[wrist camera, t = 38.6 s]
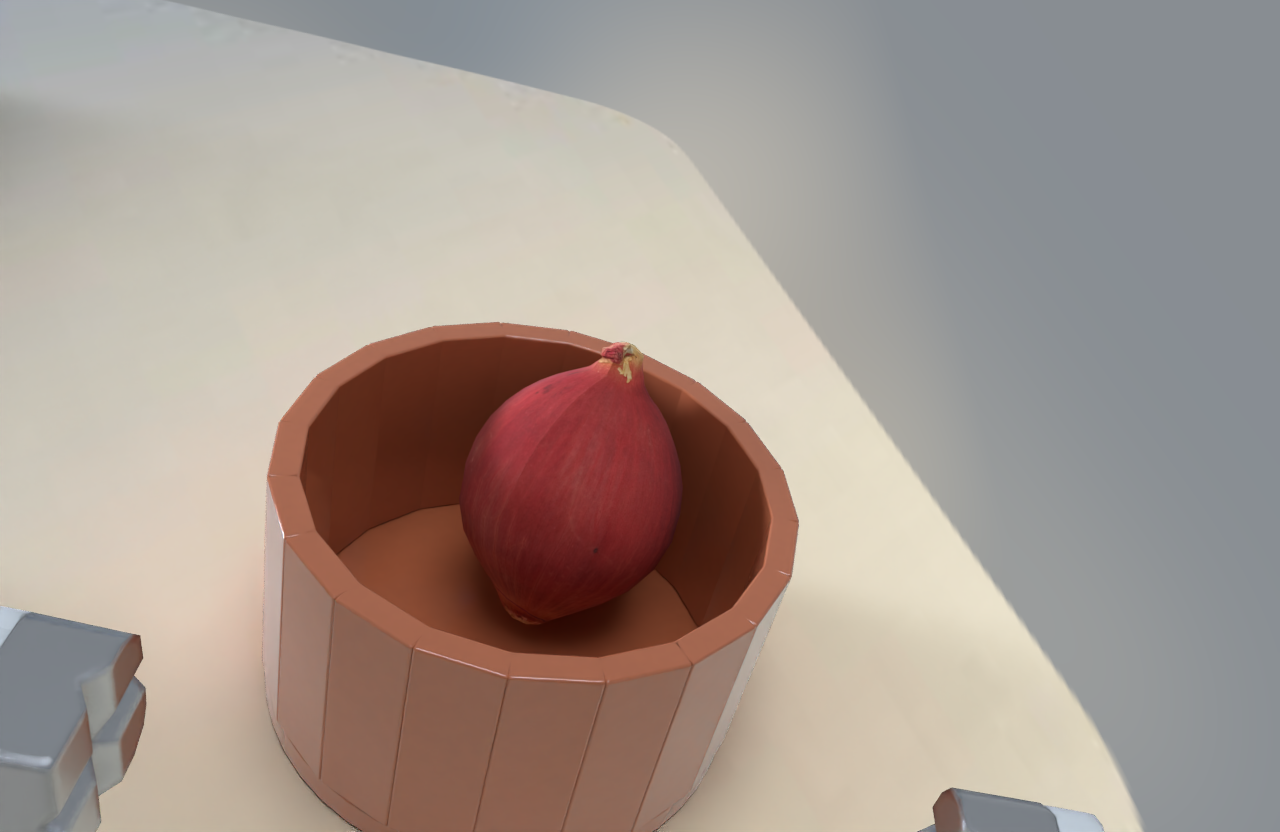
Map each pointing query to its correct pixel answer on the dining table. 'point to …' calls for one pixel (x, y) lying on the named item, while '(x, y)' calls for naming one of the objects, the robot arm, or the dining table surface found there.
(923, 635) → the dining table surface
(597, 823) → the terracotta bowl
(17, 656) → the robot arm
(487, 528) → the onion
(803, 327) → the dining table surface
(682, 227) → the dining table surface
